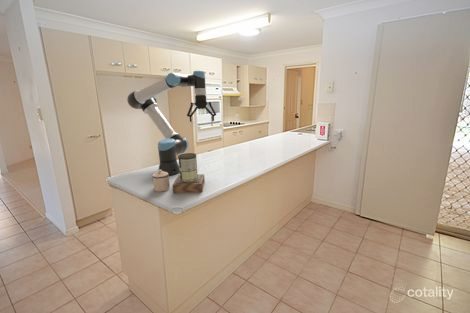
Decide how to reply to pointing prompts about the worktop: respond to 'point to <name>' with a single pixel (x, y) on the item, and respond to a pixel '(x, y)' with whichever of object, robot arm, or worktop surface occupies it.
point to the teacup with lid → (161, 181)
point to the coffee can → (188, 167)
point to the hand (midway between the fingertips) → (202, 126)
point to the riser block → (189, 185)
